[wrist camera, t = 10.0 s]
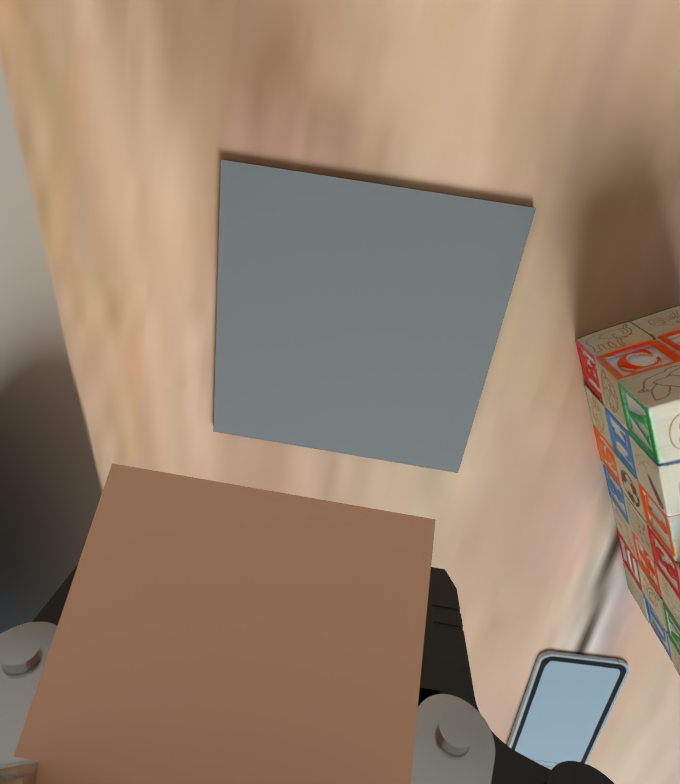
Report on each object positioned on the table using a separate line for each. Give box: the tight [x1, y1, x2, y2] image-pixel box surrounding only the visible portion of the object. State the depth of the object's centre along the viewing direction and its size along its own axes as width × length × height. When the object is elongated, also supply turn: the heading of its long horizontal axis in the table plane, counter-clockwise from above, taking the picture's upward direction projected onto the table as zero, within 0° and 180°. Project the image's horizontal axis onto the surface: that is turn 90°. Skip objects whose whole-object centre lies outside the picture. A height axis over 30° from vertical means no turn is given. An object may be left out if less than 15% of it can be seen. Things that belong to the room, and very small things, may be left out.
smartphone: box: [507, 651, 629, 768], centre depth 42 cm, size 7×1×15 cm
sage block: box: [14, 464, 435, 784], centre depth 11 cm, size 5×5×9 cm
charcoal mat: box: [213, 160, 536, 473], centre depth 29 cm, size 17×17×1 cm
